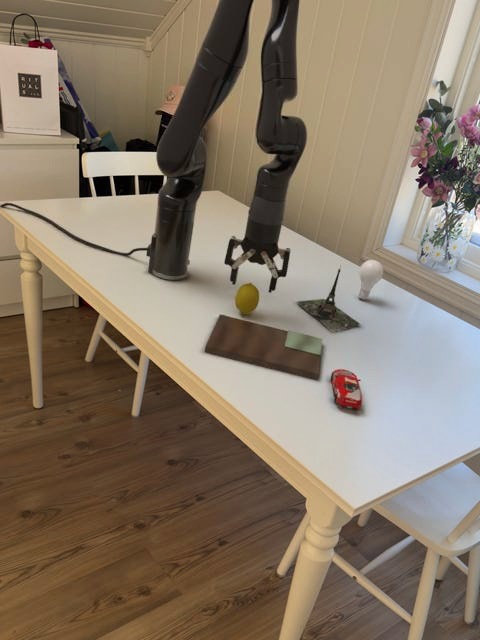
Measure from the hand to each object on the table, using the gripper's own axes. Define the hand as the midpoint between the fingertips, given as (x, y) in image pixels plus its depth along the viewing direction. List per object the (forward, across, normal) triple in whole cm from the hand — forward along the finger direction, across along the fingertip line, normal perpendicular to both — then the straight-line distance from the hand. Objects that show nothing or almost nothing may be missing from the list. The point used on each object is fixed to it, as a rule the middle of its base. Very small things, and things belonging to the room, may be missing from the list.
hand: (251, 287), depth 139 cm
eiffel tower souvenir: (+7, -20, -11) cm, 23 cm away
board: (+7, -6, +14) cm, 17 cm away
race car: (+8, -24, +26) cm, 36 cm away
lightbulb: (+8, -29, -26) cm, 40 cm away
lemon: (+7, +1, 0) cm, 7 cm away
